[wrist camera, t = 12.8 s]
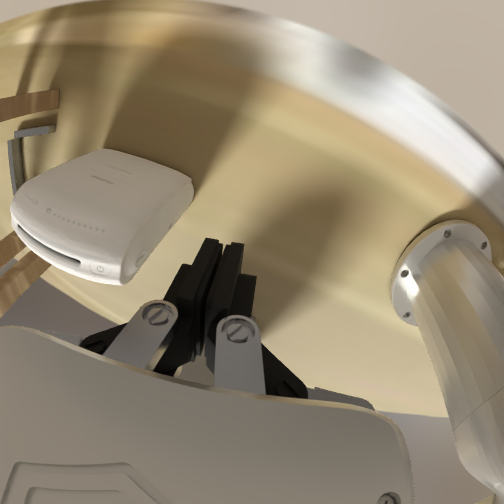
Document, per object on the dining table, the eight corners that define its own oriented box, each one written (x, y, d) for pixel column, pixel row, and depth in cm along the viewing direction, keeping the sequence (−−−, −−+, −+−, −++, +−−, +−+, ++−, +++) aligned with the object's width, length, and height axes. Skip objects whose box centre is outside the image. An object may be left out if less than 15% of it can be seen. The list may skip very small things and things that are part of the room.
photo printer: (202, 175, 21) (121, 253, 11) (188, 220, 23) (117, 317, 13) (101, 141, 20) (-7, 187, 10) (95, 183, 23) (0, 246, 12)
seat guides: (55, 124, 20) (45, 127, 18) (63, 217, 25) (55, 223, 24) (16, 130, 20) (7, 133, 19) (25, 211, 25) (17, 216, 24)
